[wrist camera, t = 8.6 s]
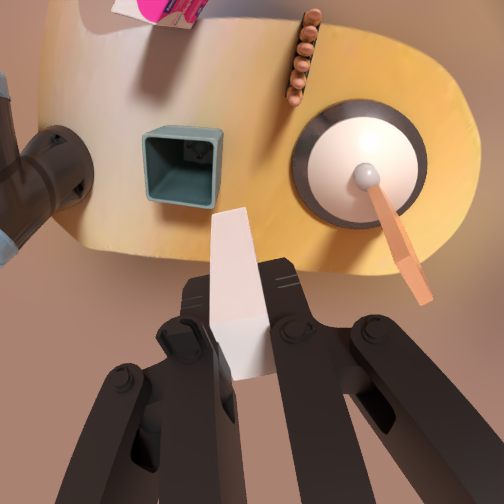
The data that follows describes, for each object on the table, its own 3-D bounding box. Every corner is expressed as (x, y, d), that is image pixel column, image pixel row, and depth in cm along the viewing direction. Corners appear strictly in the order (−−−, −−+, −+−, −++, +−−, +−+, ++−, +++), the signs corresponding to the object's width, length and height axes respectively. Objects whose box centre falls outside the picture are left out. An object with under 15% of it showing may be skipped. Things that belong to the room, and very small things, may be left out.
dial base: (278, 109, 34) (276, 116, 31) (420, 94, 29) (433, 100, 26) (305, 231, 45) (305, 247, 42) (422, 217, 41) (431, 232, 37)
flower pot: (171, 171, 42) (145, 201, 35) (170, 114, 36) (140, 133, 29) (229, 178, 42) (214, 210, 35) (233, 118, 36) (217, 138, 29)
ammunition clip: (300, 96, 33) (302, 116, 24) (285, 92, 33) (281, 111, 24) (318, 19, 26) (329, 5, 17) (303, 15, 26) (307, -1, 17)
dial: (283, 159, 37) (275, 236, 24) (378, 94, 30) (436, 133, 17) (350, 239, 43) (366, 331, 30) (433, 189, 36) (486, 269, 23)
